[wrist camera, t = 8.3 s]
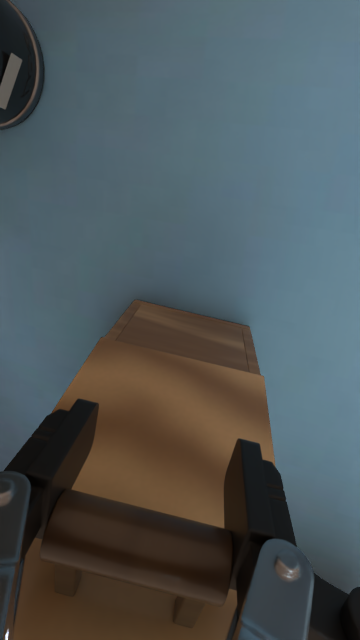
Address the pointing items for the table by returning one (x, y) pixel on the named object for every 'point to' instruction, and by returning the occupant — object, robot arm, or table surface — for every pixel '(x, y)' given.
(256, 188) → the table surface
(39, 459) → the robot arm
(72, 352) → the table surface
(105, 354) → the gift box lid
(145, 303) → the gift box
